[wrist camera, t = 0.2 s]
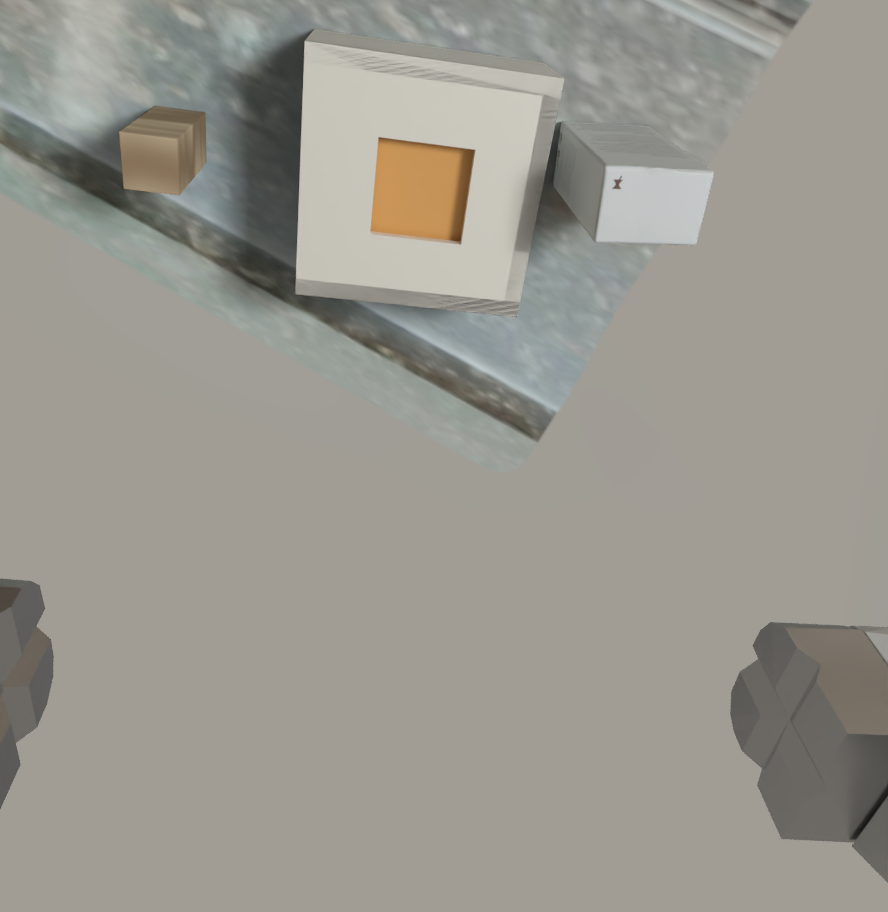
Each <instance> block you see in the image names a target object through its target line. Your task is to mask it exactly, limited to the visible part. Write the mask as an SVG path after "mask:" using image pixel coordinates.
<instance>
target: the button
mask: <svg viewBox="0 0 888 912" xmlns="http://www.w3.org/2000/svg"><path fill="white" fill-rule="evenodd" d="M473 154H474V150H473V149H465V148H458V147H450V146H443V145H435V144H427V143H420V142H412V141H405V140H397V139H389V138H382V137H378V149H377V160H376V172H375V183H374V195H373V206H372V218H371V229H370V231H374V232H382V233H391V234H400V235H408V236H417V237H425V238H434V239H443V240H451V241H460V240H461V234H462V227H463V220H464V214H465V207H466V200H467V194H468V187H469V180H470V174H471V167H472V160H473Z"/></svg>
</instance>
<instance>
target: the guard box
mask: <svg viewBox="0 0 888 912" xmlns="http://www.w3.org/2000/svg"><path fill="white" fill-rule="evenodd" d="M563 83H564V78H563V77H562V76H560V75H559V74H557V73H556V72H555V71H553V70H552V69H551V68H549V67H548V66H547V65H545V64H544V63H543V62H536V61H529V60H522V59H515V58H509V57H502V56H495V55H488V54H481V53H475V52H468V51H461V50H454V49H448V48H441V47H434V46H427V45H420V44H414V43H407V42H400V41H393V40H387V39H380V38H373V37H366V36H359V35H353V34H346V33H339V32H332V31H326V30H319V29H314V30H313V31H312V33H311V34H310V35H309V36H308V37H307V39H306V40H305V46H304V73H303V100H302V127H301V154H300V181H299V208H298V235H297V262H296V289H295V294H300V295H309V296H319V297H328V298H338V299H347V300H357V301H367V302H376V303H386V304H395V305H405V306H414V307H424V308H433V309H443V310H453V311H462V312H472V313H481V314H491V315H500V316H510V317H517V314H518V309H519V304H520V299H521V293H522V288H523V283H524V278H525V273H526V268H527V263H528V258H529V253H530V248H531V243H532V238H533V233H534V228H535V223H536V218H537V213H538V208H539V203H540V198H541V193H542V188H543V183H544V178H545V173H546V168H547V163H548V158H549V153H550V148H551V143H552V138H553V133H554V128H555V123H556V118H557V113H558V108H559V103H560V98H561V93H562V88H563ZM378 137H382V138H389V139H397V140H405V141H412V142H420V143H427V144H435V145H443V146H450V147H458V148H465V149H473V150H474V154H473V160H472V167H471V174H470V180H469V187H468V194H467V200H466V207H465V214H464V220H463V227H462V234H461V240H460V241H451V240H443V239H434V238H425V237H417V236H408V235H400V234H391V233H382V232H374V231H370V229H371V218H372V206H373V195H374V183H375V172H376V160H377V149H378Z"/></svg>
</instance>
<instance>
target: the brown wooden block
mask: <svg viewBox="0 0 888 912" xmlns="http://www.w3.org/2000/svg"><path fill="white" fill-rule="evenodd" d="M119 136H120V149H121V161H122V174H123V186H124V189H131V190H139V191H148V192H156V193H164V194H173V195H180V194H181V193H182V192H183V190H184V189H185V188H186V187H187V185H188V184H189V183H190V182H191V181H192V179H193V178H194V177H195V176H196V174H197V173H198V172H199V171H200V170H201V168H202V167H203V166H204V165H205V163H206V122H205V112H198V111H190V110H183V109H175V108H168V107H160V106H155V107H153V108H152V109H150V110H149V111H148V112H146V113H145V114H143V115H142V116H141V117H139V118H138V119H136V120H135V121H133V122H132V123H131V124H129V125H128V126H126V127H125V128H124V129H122V130H121V131H119Z"/></svg>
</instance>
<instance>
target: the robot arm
mask: <svg viewBox="0 0 888 912" xmlns="http://www.w3.org/2000/svg"><path fill="white" fill-rule="evenodd" d="M44 610H45V606H44V602H43V598H42V594H41V590H40V586H39V585H38V584H36V583H34V582H31V581H23V580H11V579H0V808H1V806H2V804H3V802H4V800H5V797H6V795H7V793H8V791H9V789H10V786H11V784H12V782H13V780H14V777H15V775H16V773H17V771H18V769H19V767H20V760H19V756H18V751H17V747H16V742H18V741H19V740H20V739H22V738H23V737H24V736H26V735H27V734H28V733H30V732H31V731H33V730H34V729H35V728H36V727H37V726H38V724H39V721H40V719H41V717H42V714H43V711H44V709H45V707H46V705H47V701H48V697H49V692H50V688H51V683H52V679H53V650H52V644H51V639H50V638H49V637H48V636H47V635H45V634H44V633H43V632H42V631H41V630H40V629H39V628H37V627H36V626H37V624H38V621H39V620H40V618H41V615H42V614H43V612H44ZM753 647H754V650H755V652H756V655H757V657H758V660H756V661H755V662H753V663H752V664H751V665H749V666H748V667H746V668H745V669H743V670H742V671H740V673H739V675H738V677H737V680H736V682H735V685H734V687H733V689H732V692H731V712H730V713H731V719H732V724H733V729H734V732H735V735H736V738H737V740H738V742H739V745H740V747H741V749H742V751H743V752H744V753H745V754H746V755H747V756H748V757H750V758H751V759H752V760H753V761H754V762H756V764H758V765H759V766H760V767H761V768H762V771H761V774H760V778H759V781H758V785H757V786H758V788H759V790H760V792H761V794H762V797H763V799H764V801H765V803H766V806H767V808H768V810H769V812H770V814H771V817H772V819H773V821H774V823H775V825H776V828H777V829H778V832H779V834H780V837H781V838H782V839H794V840H815V841H816V840H817V841H835V842H854V844H853V845H852V847H853V848H854V849H855V850H856V851H857V852H858V853H859V854H860V855H861V856H862V857H863V858H864V859H865V860H866V861H867V862H868V863H869V864H870V865H871V866H872V867H873V868H874V869H875V870H876V871H877V872H878V873H879V874H880V875H881V876H882V877H883V878H884V879H885V880H886V881H887V882H888V627H871V626H849V627H848V626H840V625H819V624H798V623H776V622H770V623H769V624H768V625H767V626H765V627H764V628H763V629H761V630H760V632H759V634H758V636H757V638H756V640H755V642H754V644H753Z"/></svg>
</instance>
